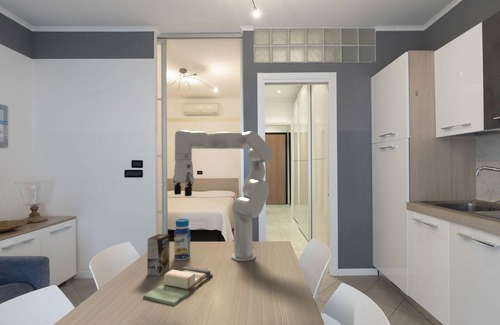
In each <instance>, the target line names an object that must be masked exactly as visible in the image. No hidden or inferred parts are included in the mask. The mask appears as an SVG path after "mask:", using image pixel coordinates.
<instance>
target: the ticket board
mask: <svg viewBox="0 0 500 325" xmlns="http://www.w3.org/2000/svg"><path fill="white" fill-rule="evenodd" d="M182 271H183V272H189V273H195V284H194V285H192V286H191V287H190V288H188V289H185V288H180V287H175V286H170V285H165V284H164V282H162V283H161V284H160V285H158V286H156V287H155V288H153V289H152V290H150V291H148V292H146V293H145V294H143V295H142V298H143V299H145V300H149V301H153V302H157V303H162V304H167V305H171V306H177V304H179V303H180V302H181V301H183V300H184V299H185V298H186V297H188V296H189V295H190V294H192V293H193V292H194V291H195V290H196V289H198V288H199V287H201V286H202V285H203V284H204V283H206V282H207V281H209V280H210V279H211V278H212V277H213V275H214V274H212V273H211V270H209V269H204V268H198V267H192V266H184V267H182Z"/></svg>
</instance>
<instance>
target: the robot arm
mask: <svg viewBox="0 0 500 325" xmlns="http://www.w3.org/2000/svg"><path fill="white" fill-rule="evenodd" d="M193 149H196V150H199V149H202V150H203V149H205V150H207V149H215V150H216V149H217V150H226V149H227V150H228V149H231V150H232V149H235V150H237V149H239V150H240V149H243V150H244V149H249V150H248V151H247V154H246V155H247V160H248V162H249V166H250V170H249V172H248V175H247V177H246V179H245V182H244V183H243V187H242V193H243V194H244V196H240V197H237V198H235V199H234V201H233V203H232V214H233V226H234V227H233V228H234V229H233V230H234V231H233V234H234V235H233V236H234V237H233V238H234V241H233V243H234V244H233V247H234V251H233V253H232V254H231V259H232V260H233V261H237V262H248V261H249V262H250V261H253V260H254V259H256V253H254V252H253V249H254V248H255V247H254V245H253V220H252V219H255V218H257V217H258V216H260V214H261V213H262V211H263V209H264V207H265V204H266V201H267V199H268V197H269V194H270V186H269V183H268V182H267V181H266V180H264V179H265V177H266V176H265V175H266V169H265V165H264V163H269V162H271V161H272V160H273V157H274V152H273V149H272V148H271V146H270V145H269V144H268V143H267V142H266V141H265V140H264V138H262V137H261V136H260V135H259V134H258V133H257V132H256V131H252V130H250V131H245V132H229V131H221V132H215V133H207V132H205V131H201V130H200V131H189V130H177V131H175V134H174V162H175V163H174V172H173V176H172V179H173V188H174V192H173V193H174V195H176V196H177V195H181V194H182V185H181V184H183V183H184V186H185V187H184V197H192V195H193V190H192V189H193V184H194V180H195V177H194V165H193V159H192V157H193V156H192V155H193V154H192V153H193V151H192V150H193ZM245 196H247V197H245Z"/></svg>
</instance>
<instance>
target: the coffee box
mask: <svg viewBox="0 0 500 325" xmlns="http://www.w3.org/2000/svg"><path fill="white" fill-rule="evenodd" d="M146 254H147V256H146V257H147V260H146V261H147V262H146V263H147V264H146V265H147V266H146V268H147V269H146V270H147V275H148V276H149V275H150V276H158V277H160V276H162V274H165V273H166V271H168V270H169V269H170V267H171V266H170V261H171V260H170V257H171V256H170V234H167V233H165V234H161V233H160V234H159V233H157V234H156V235H152V236H151V237H149V238H147V253H146Z"/></svg>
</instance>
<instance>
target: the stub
mask: <svg viewBox="0 0 500 325" xmlns="http://www.w3.org/2000/svg"><path fill="white" fill-rule="evenodd" d="M163 274H164V280H163V283H164V284H165V285H170V286H175V287H180V288H185V289H188V288H190V287H191V286H192V285H194V284H195V273H189V272H183V270H176V269H171V270H170V271H167V272H164V273H163Z"/></svg>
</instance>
